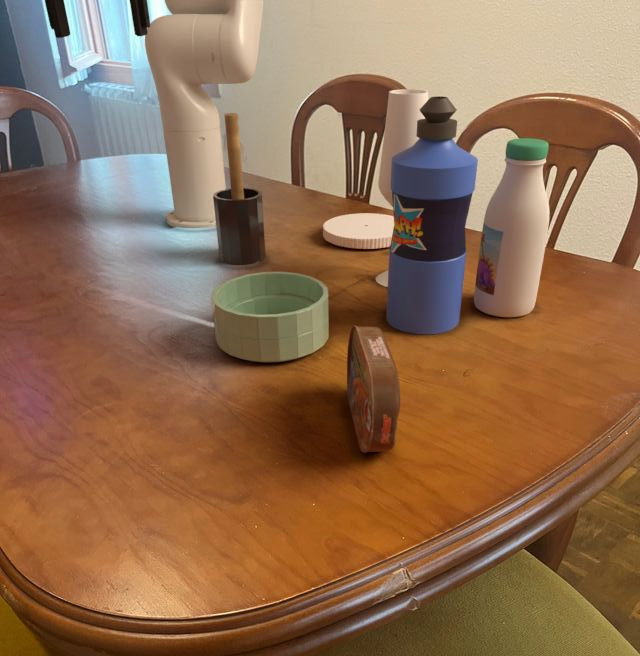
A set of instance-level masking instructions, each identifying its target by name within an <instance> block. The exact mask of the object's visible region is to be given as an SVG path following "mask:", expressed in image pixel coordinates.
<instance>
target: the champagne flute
mask: <svg viewBox="0 0 640 656" xmlns="http://www.w3.org/2000/svg"><path fill="white" fill-rule="evenodd" d="M428 100H429V91H428V90H427V89H419V88H418V89H416V88H402V89H401V88H400V89H393V90H389V91H388V98H387V107H386V116H385V125H384V132H383V139H382V140H383V141H382V149H381V159H380V165H379V175H378V182H377V185H378V189H379V192H380V194H381V195H382V197H383V198H384V199H385V201H386V202H387V203H388V204H389V205H390V206H391V207H392V208H393V199H392V190H391V163H392V157H393V156H395V155H396V154H398V153H400V152H402V151H404V150H406V149H408V148H410V147H412V146H413V145H414V144H415V143H416V142H417V141H418V140H419V138H418V137H417V136H416V135H417V121H418V120H420V119H425V117H424V116H423V114H422V113H421V112H420V108H421V107H422V106H423V105H424V104H425V103H426V102H427V101H428ZM375 282H376V283H377V284H379V285H381V286H383V287H386V288H388V269H387V270H385V271H384V272H381V273H380V274H378V275H377V276H376V277H375Z"/></svg>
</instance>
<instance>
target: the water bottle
mask: <svg viewBox="0 0 640 656" xmlns="http://www.w3.org/2000/svg"><path fill="white" fill-rule="evenodd" d="M457 110H458V109H457V108H456V106H455V105H454V104H453V102H452V101H451V100H450V99H449V97H447V96H440V95H439V96H438V95H437V96H431V97H430V98H428V101H427V102H426V103H425V104H424V105H423V106H422V107H421V108H420V112H421V113H422V114H423V116H424V117H425V119H420V120H418V121H417V135H416V136H417V137H418V138H419V140H418V141H417V142H416V143H415V144H414V145H413V146H412V147H410V148H408V149H406V150H404V151H402V152H400V153H398V154H396V155H395V156H393V157H392V163H391V190H392V199H393V207H392V211H393V216H394V229H393V234H392V240H391V245H390V246H389V249H388V250H389V253H388V269H387V270H388V287H387V290H386V291H387V295H386V322H387V323H388V324H389V325H390V327H392V328H394V329H396V330H398V331H401V332H404V333H409V334H414V335H436V334H442V333H443V334H444V333H447V332H449V331H451V330H453V329H455V328H456V327H458V325H459V323H460V315H461V307H462V300H463V299H462V298H463V289H464V279H465V270H466V269H465V268H466V260H467V259H466V258H467V245H466V244H467V243H466V241H467V240H466V225H467V219H468V216H469V213H470V212H469V211H470V207H471V203H472V198H473V197H472V196H473V193H474V192H475V189H476V181H477V171H478V164H479V163H478V161H479V159H478V157H476V156H475V155H473V154H472V153H470V152H468V151H466V150H464V149H463V148H461V147H459V145H457V143H456V141H455V140H454V138H456V137H457V129H458V120H457V119H453V118H452V116H453V115H455V113H456V112H457Z"/></svg>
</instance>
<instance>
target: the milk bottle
mask: <svg viewBox="0 0 640 656" xmlns="http://www.w3.org/2000/svg"><path fill="white" fill-rule="evenodd" d="M549 146H550V145H549V142H548V141H546V140H543V139H539V138H531V137H529V138H528V137H527V138H526V137H523V138H521V137H520V138H513V139H510V140H508V141H507V142H506V146H505V158H504V162H505V168H504V171H503V175H502V178H501V179H500V182H499V183H498V185H497V187H496V188H495V191H494V192H493V193H492V196H491V197H490V199H489V201H488V204H487V205H486V206H487V207H486V210H485V213H484V218H483V223H482V230H481V237H480V243H479V244H480V245H479V253H478V260H477V268H476V269H477V270H476V277H475V285H474V293H473V303H474V306H475V308H476V309H477V310H479V311H480V312H482V313H484V314H486V315H489V316H493V317H499V318H518V317H523V316H526V315H528V314H530V313H531V312H532V311H533V310H534V309H535V305H536V301H537V296H538V292H539V287H540V286H539V285H540V282H541V281H540V279H541V275H542V269H543V263H544V257H545V252H546V245H547V239H548V233H549V226H550V216H551V215H550V213H551V211H550V202H549V198H548V195H547V190H546V188H545V182H544V173H543V172H544V171H543V170H544V165H545V164H547V157H548V154H549Z"/></svg>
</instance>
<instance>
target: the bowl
mask: <svg viewBox="0 0 640 656" xmlns="http://www.w3.org/2000/svg"><path fill="white" fill-rule="evenodd" d="M210 299H211V307H212V316H213V326H214V333H215V342H216V343H217V346H218V348H219V349H220V350H222V351H223V352H224V353H226V354H227V355H229V356H232V357H235V358H237V359H240V360H245V361H249V362H256V363H265V364H266V363H268V364H269V363H282V362H289V361H293V360H297V359H300V358H302V357H305V356H308V355H311V354H313V353H315V352H316V351H318V350H320V349H321V348H323V347H324V346H325V344H326V343H327V341H328V339H329V338H330V334H329V333H330V332H329V331H330V330H329V329H330V327H329V326H330V325H329V324H330V322H329V319H330V318H329V317H330V316H329V287H327V285H326V284H325V283H324V282H323V281H321V280H319V279H317V278H316V277H313V276H311V275H306V274H304V273H299V272H290V271H289V272H288V271H260V272H253V273H248V274H244V275H239V276H236V277H232V278H230V279H228V280H226V281H224V282H222V283H220V284H219V285H218V286H217V287H215V288H214V289H213V291H212V294H211V297H210Z"/></svg>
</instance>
